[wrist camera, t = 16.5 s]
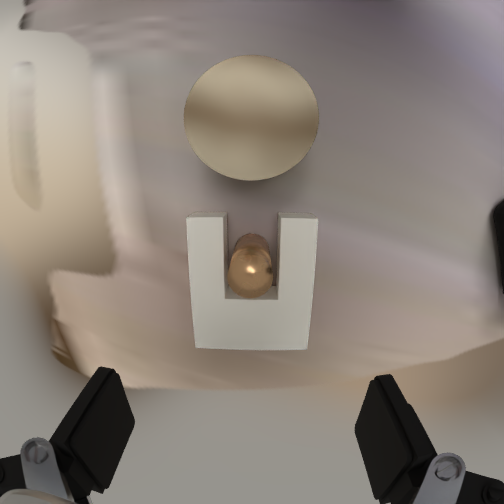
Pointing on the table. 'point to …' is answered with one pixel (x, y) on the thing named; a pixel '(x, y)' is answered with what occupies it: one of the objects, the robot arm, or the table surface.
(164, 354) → the table surface
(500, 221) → the air purifier
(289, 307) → the notched board
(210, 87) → the spool
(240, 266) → the copper pin
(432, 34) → the table surface
